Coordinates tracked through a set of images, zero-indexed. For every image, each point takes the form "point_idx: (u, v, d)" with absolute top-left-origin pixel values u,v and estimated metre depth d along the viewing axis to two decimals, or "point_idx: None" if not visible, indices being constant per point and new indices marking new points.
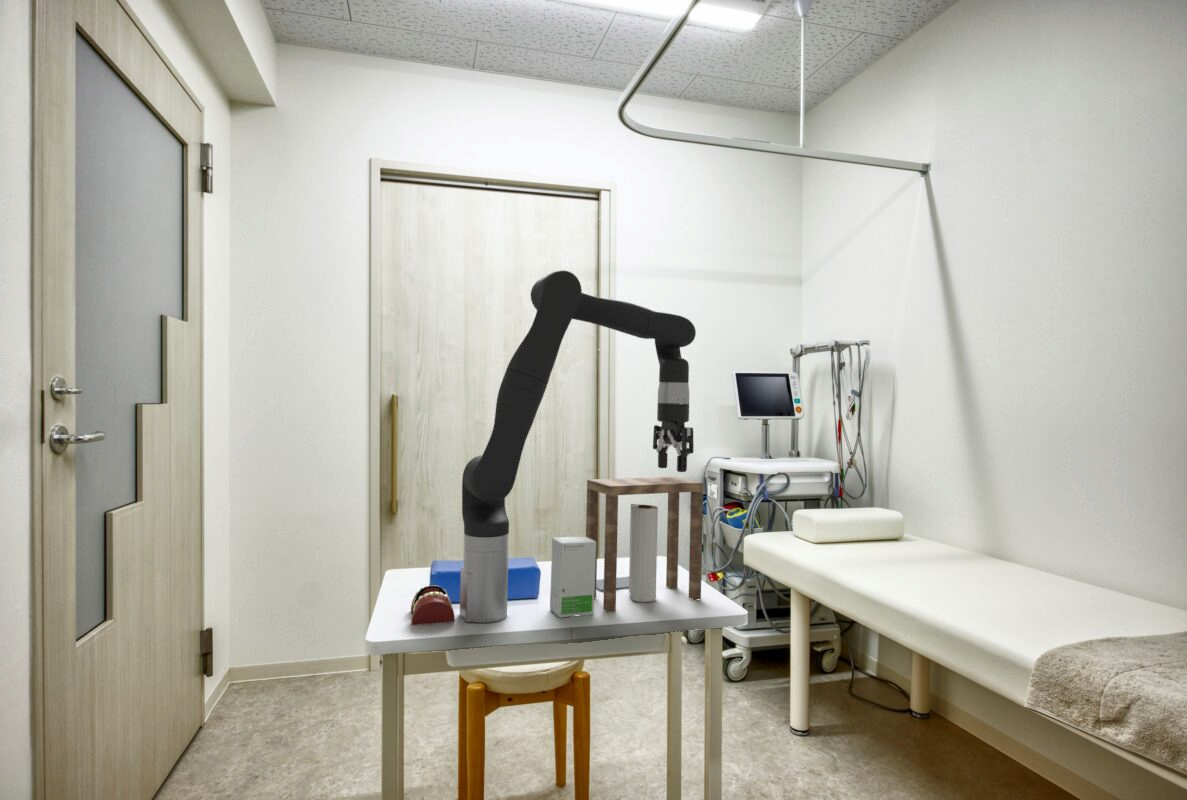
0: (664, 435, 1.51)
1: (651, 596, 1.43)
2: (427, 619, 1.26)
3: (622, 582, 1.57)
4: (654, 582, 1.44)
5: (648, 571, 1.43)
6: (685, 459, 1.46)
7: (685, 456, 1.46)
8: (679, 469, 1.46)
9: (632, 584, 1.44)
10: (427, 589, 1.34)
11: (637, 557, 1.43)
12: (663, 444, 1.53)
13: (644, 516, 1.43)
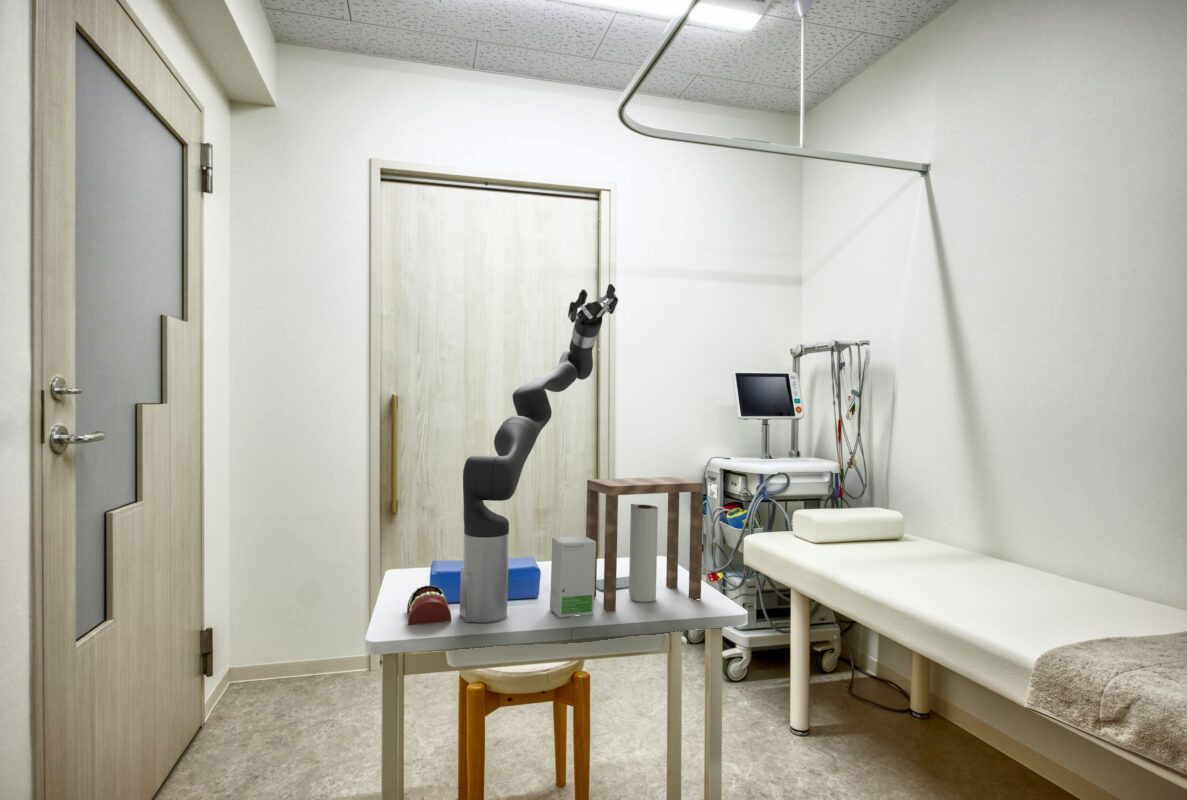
0: (598, 312, 1.78)
1: (651, 596, 1.43)
2: (423, 619, 1.26)
3: (622, 582, 1.57)
4: (654, 582, 1.44)
5: (648, 571, 1.43)
6: (578, 299, 1.72)
7: (578, 301, 1.73)
8: (584, 295, 1.70)
9: (632, 584, 1.44)
10: (423, 589, 1.34)
11: (637, 557, 1.43)
12: (604, 303, 1.78)
13: (644, 516, 1.43)
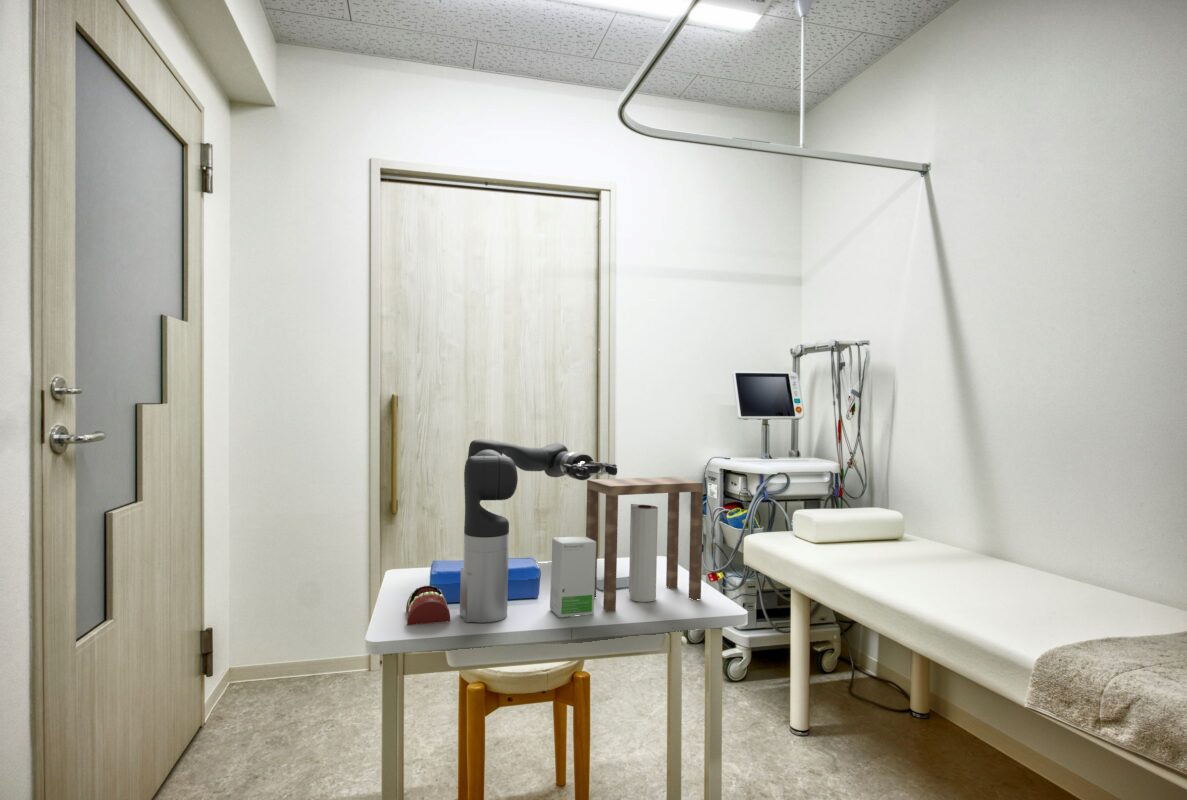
0: (592, 474, 1.77)
1: (651, 596, 1.43)
2: (422, 619, 1.26)
3: (622, 582, 1.57)
4: (654, 582, 1.44)
5: (648, 571, 1.43)
6: (579, 469, 1.70)
7: (577, 470, 1.70)
8: (584, 475, 1.68)
9: (632, 584, 1.44)
10: (422, 589, 1.34)
11: (637, 557, 1.43)
12: (601, 471, 1.76)
13: (644, 516, 1.43)
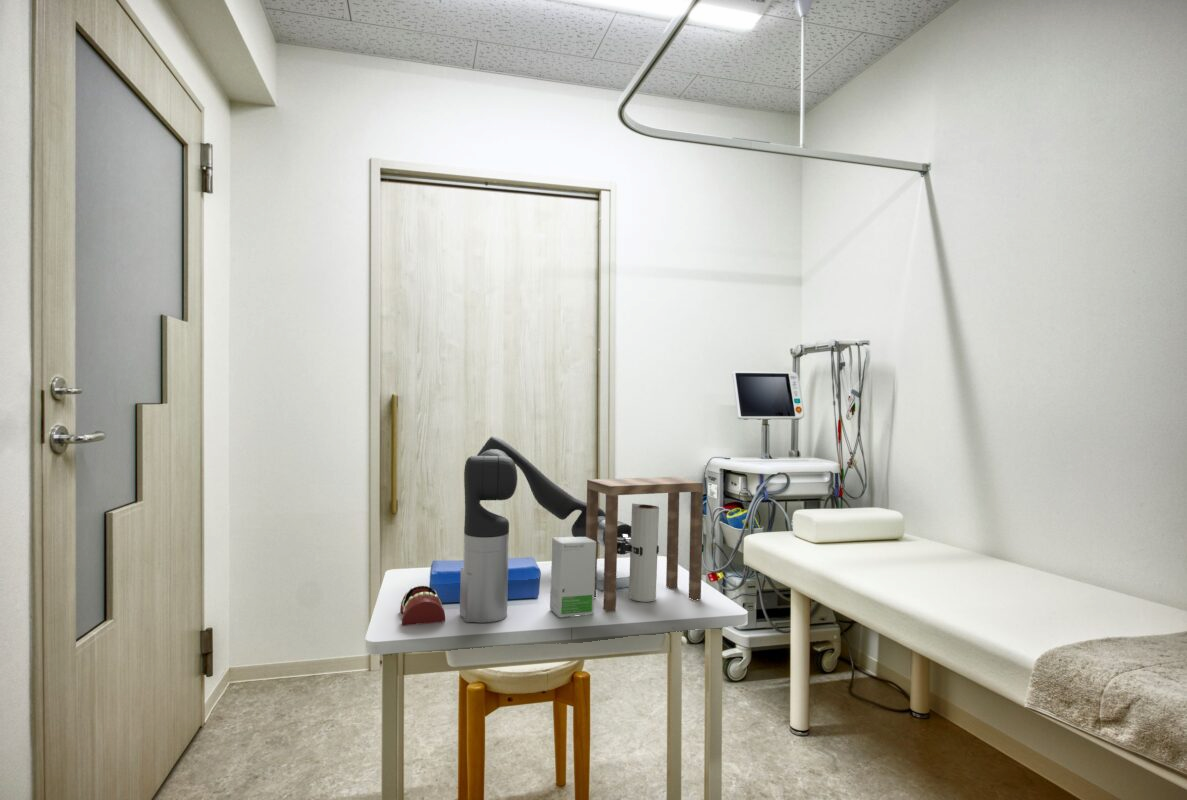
0: None
1: (651, 596, 1.43)
2: (417, 619, 1.26)
3: (622, 582, 1.57)
4: (655, 582, 1.44)
5: (648, 571, 1.43)
6: None
7: (630, 547, 1.46)
8: None
9: (632, 584, 1.44)
10: (416, 589, 1.34)
11: (638, 557, 1.43)
12: None
13: (645, 516, 1.43)
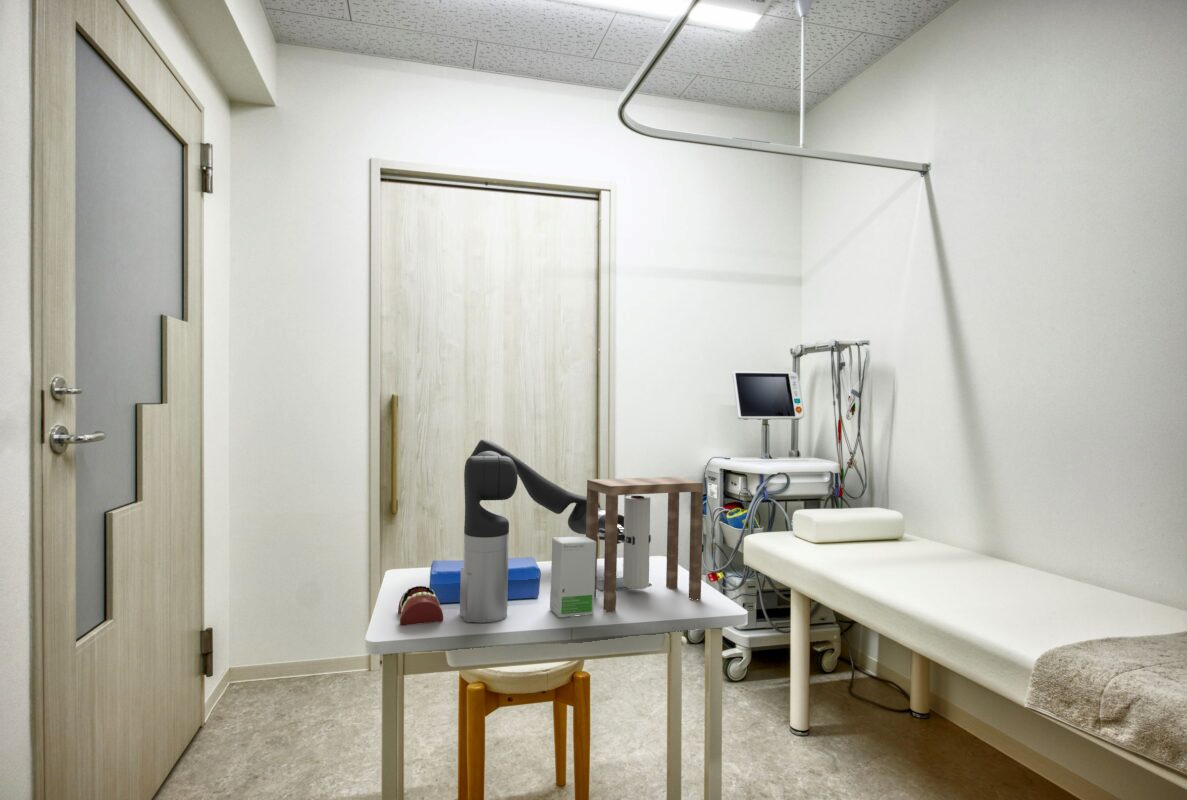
0: None
1: (644, 583, 1.49)
2: (415, 619, 1.26)
3: (622, 582, 1.57)
4: (647, 570, 1.49)
5: (641, 559, 1.48)
6: None
7: (623, 537, 1.51)
8: None
9: (626, 572, 1.49)
10: (414, 590, 1.34)
11: (630, 546, 1.48)
12: None
13: (637, 506, 1.48)
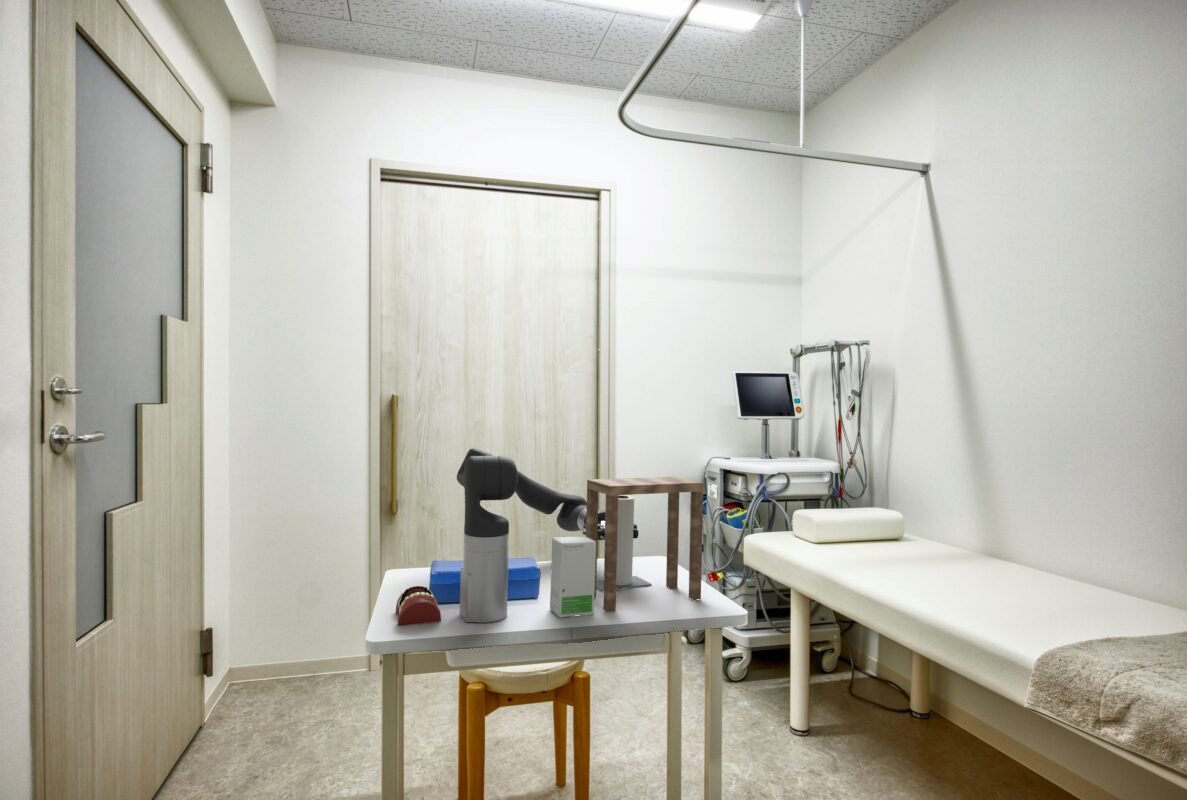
0: None
1: (627, 580, 1.55)
2: (413, 619, 1.26)
3: None
4: (630, 567, 1.55)
5: (624, 557, 1.54)
6: (603, 532, 1.56)
7: (602, 532, 1.57)
8: None
9: None
10: (412, 590, 1.33)
11: None
12: None
13: (621, 506, 1.54)
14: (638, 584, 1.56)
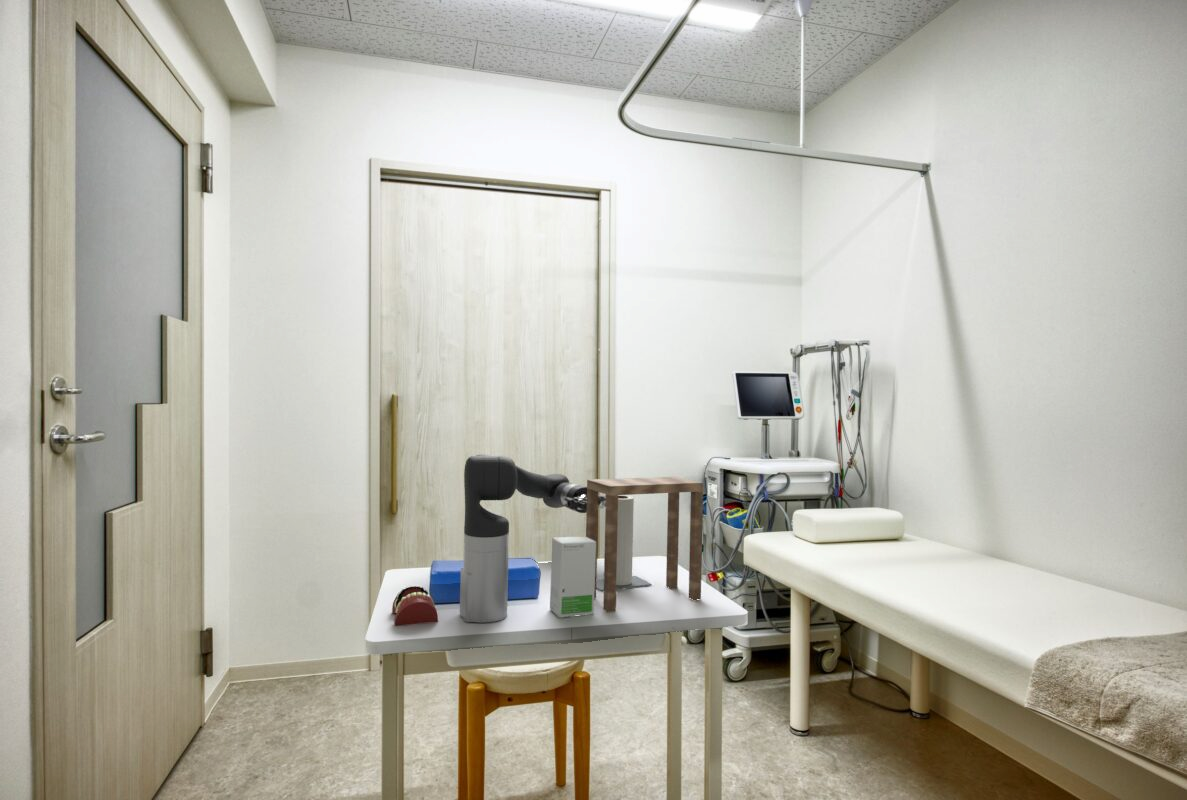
0: None
1: (627, 580, 1.55)
2: (410, 620, 1.25)
3: None
4: (630, 567, 1.55)
5: (624, 557, 1.54)
6: (580, 504, 1.69)
7: (578, 504, 1.70)
8: (585, 509, 1.67)
9: None
10: (408, 590, 1.33)
11: None
12: (602, 505, 1.75)
13: (620, 506, 1.54)
14: (638, 584, 1.56)
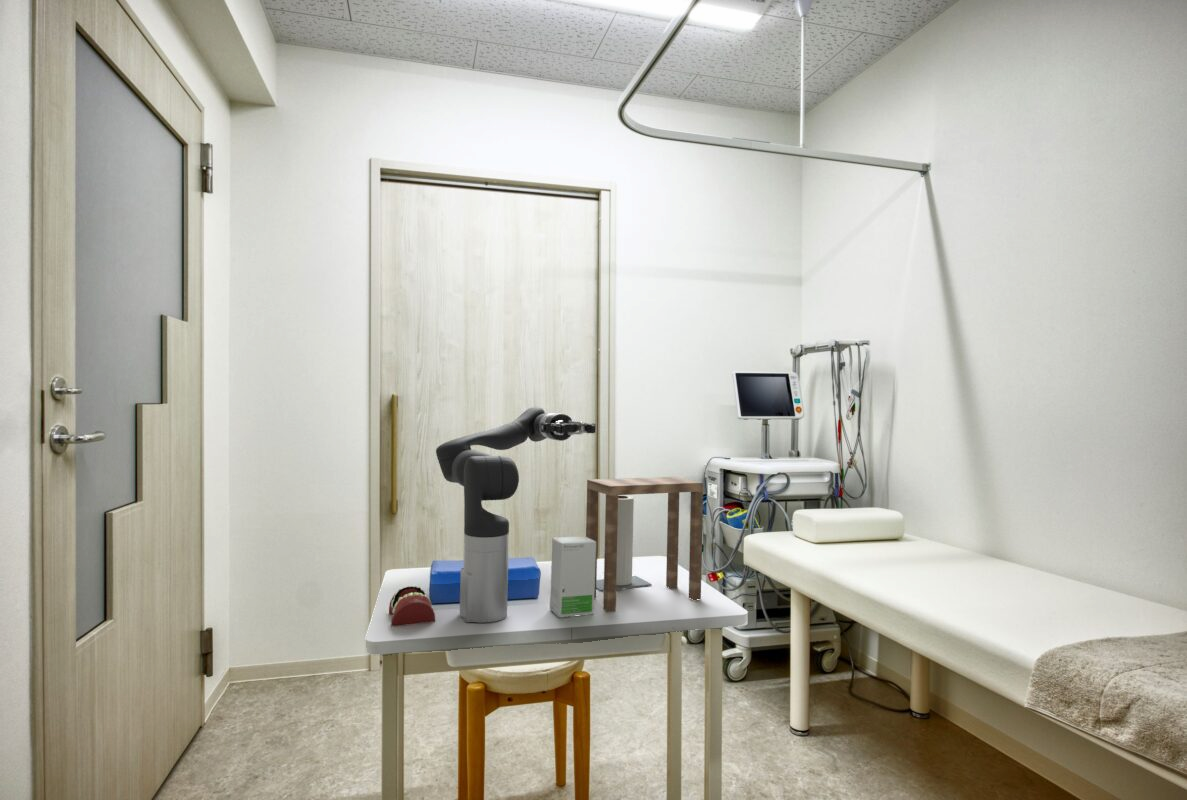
0: (570, 433, 1.73)
1: (627, 580, 1.55)
2: (407, 620, 1.25)
3: None
4: (630, 567, 1.55)
5: (624, 557, 1.54)
6: (555, 427, 1.65)
7: (554, 427, 1.66)
8: (561, 432, 1.63)
9: None
10: (405, 590, 1.33)
11: None
12: (579, 430, 1.71)
13: (620, 506, 1.54)
14: (638, 584, 1.56)
